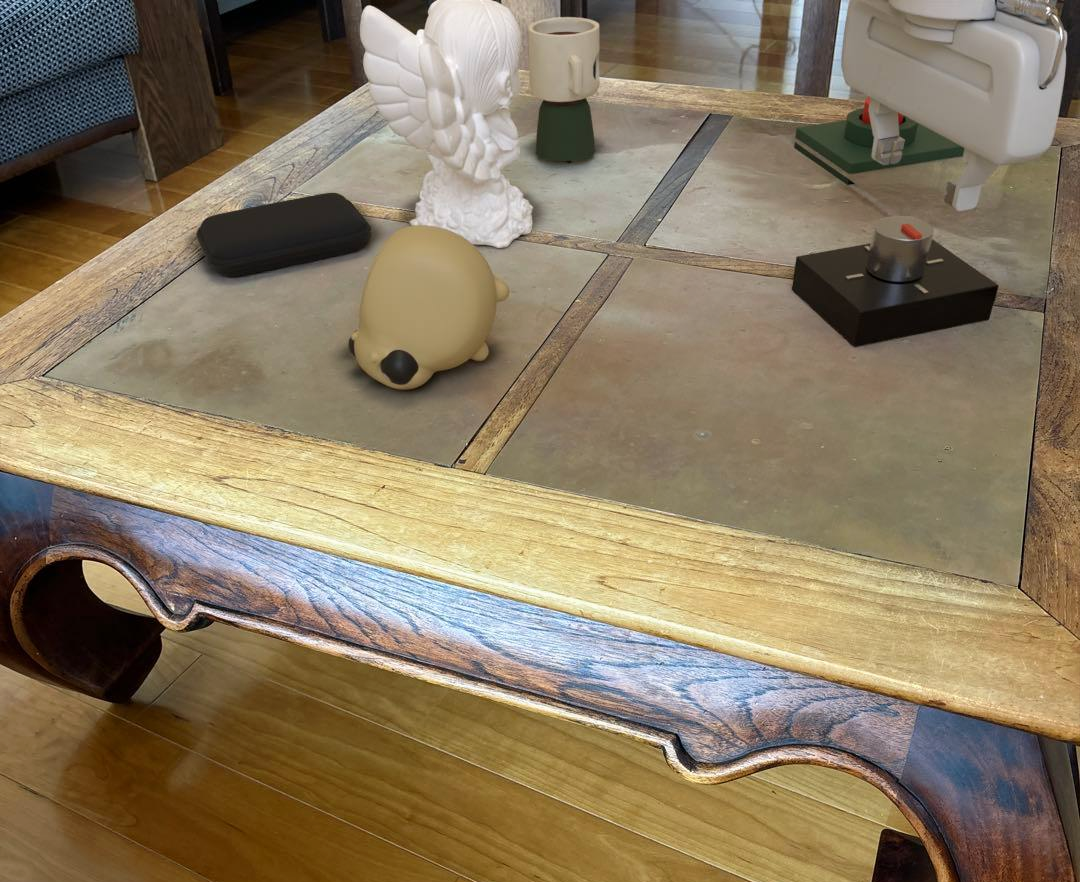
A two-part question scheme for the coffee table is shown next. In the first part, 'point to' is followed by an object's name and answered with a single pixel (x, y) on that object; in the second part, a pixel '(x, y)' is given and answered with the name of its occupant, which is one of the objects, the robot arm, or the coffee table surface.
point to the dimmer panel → (892, 294)
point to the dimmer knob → (899, 248)
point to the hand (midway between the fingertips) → (920, 183)
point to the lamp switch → (870, 145)
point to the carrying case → (282, 234)
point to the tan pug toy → (425, 307)
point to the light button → (867, 118)
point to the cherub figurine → (454, 111)
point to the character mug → (564, 85)
